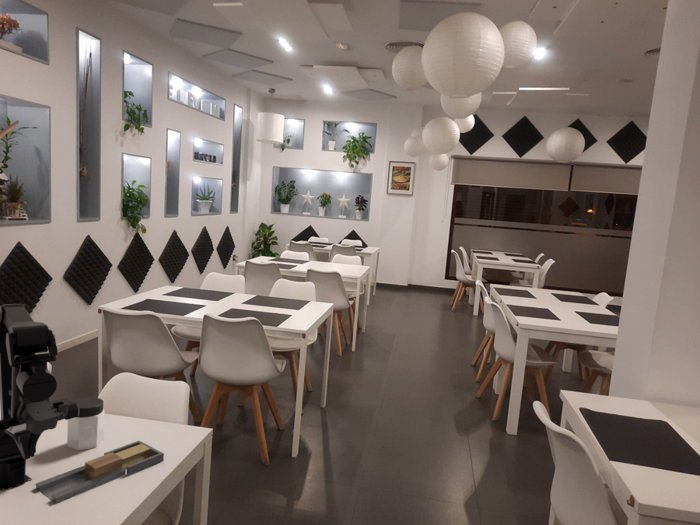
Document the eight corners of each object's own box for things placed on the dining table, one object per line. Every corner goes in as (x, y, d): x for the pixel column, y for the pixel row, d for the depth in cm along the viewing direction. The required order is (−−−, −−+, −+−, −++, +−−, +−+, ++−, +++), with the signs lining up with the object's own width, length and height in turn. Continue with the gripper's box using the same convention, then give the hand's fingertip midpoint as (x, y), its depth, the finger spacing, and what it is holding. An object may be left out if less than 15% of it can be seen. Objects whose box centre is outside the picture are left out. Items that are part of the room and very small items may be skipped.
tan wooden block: (127, 459, 131) (127, 448, 131) (140, 454, 135) (141, 443, 134) (136, 465, 129) (136, 453, 129) (149, 459, 132) (150, 448, 132)
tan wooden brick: (84, 474, 122) (85, 462, 122) (111, 464, 128) (112, 452, 128) (94, 481, 120) (95, 468, 120) (121, 470, 126) (122, 458, 125)
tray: (103, 462, 130) (104, 453, 129) (138, 449, 138) (139, 440, 138) (128, 477, 124) (128, 467, 123) (163, 462, 132) (163, 453, 132)
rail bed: (35, 490, 115) (36, 483, 115) (104, 464, 129) (104, 457, 129) (55, 505, 110) (56, 498, 110) (125, 476, 124) (125, 469, 124)
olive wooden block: (112, 465, 128) (113, 454, 128) (127, 459, 131) (127, 448, 131) (121, 470, 126) (122, 459, 125) (136, 465, 129) (136, 453, 129)
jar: (68, 454, 132) (69, 410, 131) (65, 441, 139) (67, 399, 138) (105, 447, 137) (107, 405, 136) (101, 435, 144) (103, 395, 143)
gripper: (-6, 409, 91) (-8, 491, 92) (94, 385, 106) (91, 455, 108) (-32, 393, 97) (-33, 470, 98) (67, 372, 112) (64, 439, 114)
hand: (26, 458), depth 104 cm, fingers closed
